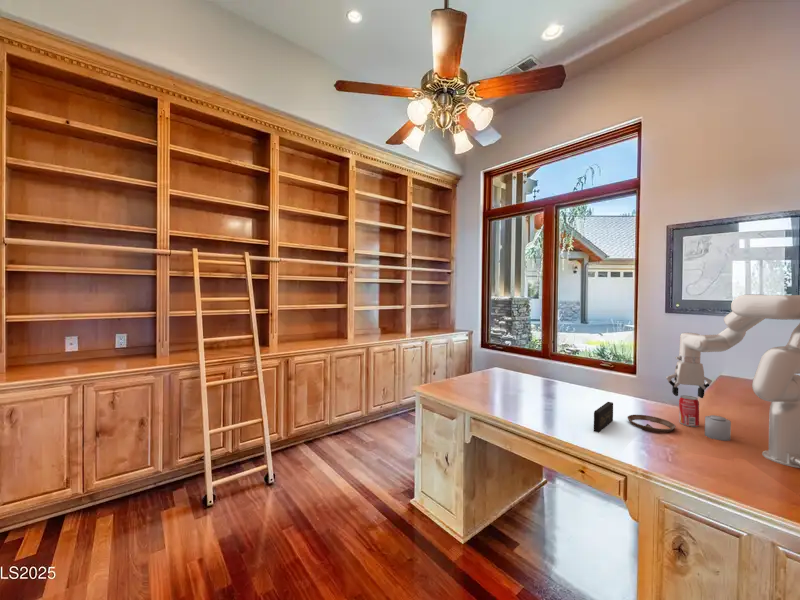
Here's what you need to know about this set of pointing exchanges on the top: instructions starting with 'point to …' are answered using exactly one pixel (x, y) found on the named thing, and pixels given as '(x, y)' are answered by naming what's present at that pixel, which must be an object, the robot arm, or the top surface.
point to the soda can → (689, 411)
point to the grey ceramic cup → (718, 428)
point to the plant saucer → (652, 419)
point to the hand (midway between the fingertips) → (687, 396)
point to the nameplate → (603, 416)
